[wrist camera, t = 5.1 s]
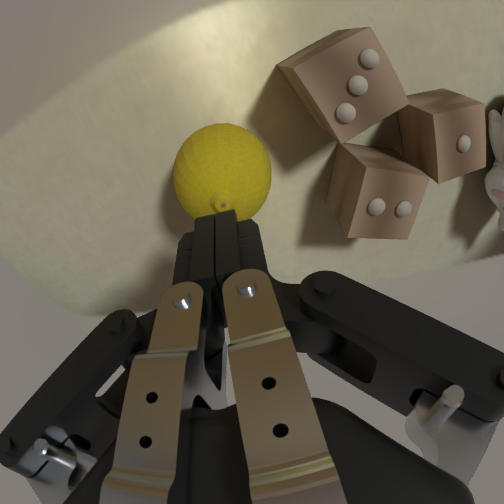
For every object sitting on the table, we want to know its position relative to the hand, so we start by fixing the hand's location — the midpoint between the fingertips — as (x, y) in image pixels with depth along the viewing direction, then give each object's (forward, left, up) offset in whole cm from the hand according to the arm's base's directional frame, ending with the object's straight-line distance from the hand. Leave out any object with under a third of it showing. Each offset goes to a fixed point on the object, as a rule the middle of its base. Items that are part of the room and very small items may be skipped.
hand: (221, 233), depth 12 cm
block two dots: (-10, +4, -11) cm, 15 cm away
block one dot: (-16, 0, -11) cm, 19 cm away
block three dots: (-8, -4, -11) cm, 14 cm away
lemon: (0, 0, -11) cm, 11 cm away
